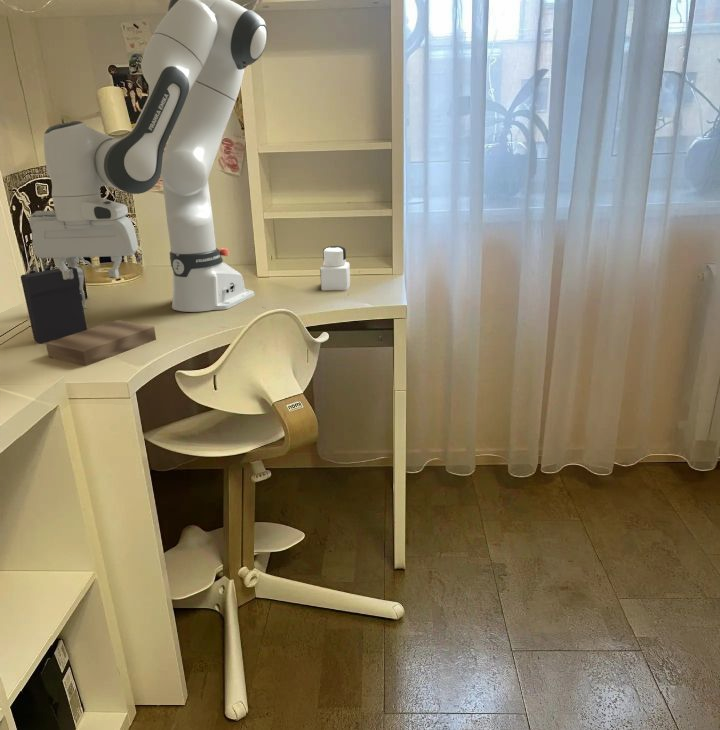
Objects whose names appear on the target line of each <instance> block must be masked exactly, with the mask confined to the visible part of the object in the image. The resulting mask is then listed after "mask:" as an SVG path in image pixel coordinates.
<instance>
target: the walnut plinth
mask: <svg viewBox="0 0 720 730" xmlns="http://www.w3.org/2000/svg"><path fill="white" fill-rule="evenodd" d="M156 336H157V335H156V329H155V326H153V325H147V324H141V323H135V322H131V321H125V320H119V319H116V320H114V321H113V320H112V321H110V322H107V323H104V324H100V325H97V326H95V327H91V328H87V330H85V331H81V332H78V333H75V334H72V335H69V336H66V337H63V338H60V339H57V340H53V341H49V342H46V343H45V347H46V349H47V350H46V351H47V354H48V357H49V358H53V359H56V360H61V361H64V362H69V363H74V364H77V365H80V366H85V367H87V366H89V365H92V364H95V363H98V362H100V361H104V360H106V359H109V358H111V357H114V356H116V355H119V354H121V353H125V352H127V351H130V350H132V349H136V348H138V347H140V346H144V345H145V344H148V343H150V342H153V341H157V337H156Z"/></svg>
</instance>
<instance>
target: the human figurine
mask: <svg viewBox="0 0 720 730" xmlns="http://www.w3.org/2000/svg"><path fill="white" fill-rule="evenodd" d="M65 259H66V261H64V263H65V265H66V264H68V265H69V267H73V268H76V269H77V272H78V277H79V282H80V287H79V289H80V294H81V299H82V305H83V310H86V309H88V308H87V304H86V295H85V291H84V276H85V272H84V270H82V269H81V268H80V267H78V265H77V264H78V263H79V262H80V261H82V262H84V263H85V264H87V265H89V266H90V267H92V268H93V269H95V270H96V271H100V270H99V269H98V268H97V267H96V266H94V265H93V264H91V262H90V261H88V260H85V257H70V258H65Z"/></svg>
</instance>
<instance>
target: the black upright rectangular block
mask: <svg viewBox="0 0 720 730" xmlns="http://www.w3.org/2000/svg"><path fill="white" fill-rule="evenodd" d="M67 268H68V269H73V275H74V278H73V279H67V280H64V279H63V274H62V271H61V270H60V269H59V268H58V267H57V268H53V269H52V268H51V269H46V270H41V271H36V272H31V273H25V274H21V275H20V281H21V285H22V290H23V295H24V299H25V300H24V301H25V303H26V309H27V313H28V317H29V318H28V319H29V322H30V326H31V327H30V328H31V331H32V336H33V340H34V342H37V343H39V344H44V343H45V344H46V343H47V342H50V341H54V340H57V339H60V338H63V337H66V336H69V335H72V334H75V333H78V332H81V331H85V330H88V327H87V321H86V317H85V311H84V310H85V309H84V308H83V301H82V295H81V293H80V289H79V287H80V282H79V277H78V272H77V269H76V268H73V267H70V266H67Z"/></svg>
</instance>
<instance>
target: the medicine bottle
mask: <svg viewBox="0 0 720 730" xmlns="http://www.w3.org/2000/svg"><path fill="white" fill-rule="evenodd" d="M346 253H347V251H346V248H345V247H343V246H341V245H340V246H339V245H330V246H327V247H324V248H323V250H322V259H323V260H322V261H323V264H322V265H321V267H319V271H320V273H319V275H320V276H319V277H320V290H321V291H348V290H349V288H350V285H351V271H350V270H351V269H350V268H351V266H350V262H347V254H346Z"/></svg>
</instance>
